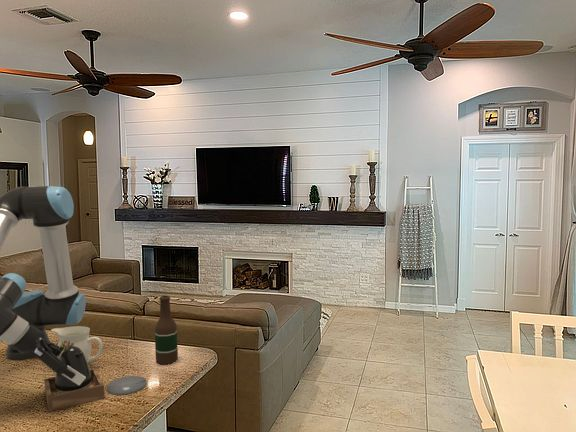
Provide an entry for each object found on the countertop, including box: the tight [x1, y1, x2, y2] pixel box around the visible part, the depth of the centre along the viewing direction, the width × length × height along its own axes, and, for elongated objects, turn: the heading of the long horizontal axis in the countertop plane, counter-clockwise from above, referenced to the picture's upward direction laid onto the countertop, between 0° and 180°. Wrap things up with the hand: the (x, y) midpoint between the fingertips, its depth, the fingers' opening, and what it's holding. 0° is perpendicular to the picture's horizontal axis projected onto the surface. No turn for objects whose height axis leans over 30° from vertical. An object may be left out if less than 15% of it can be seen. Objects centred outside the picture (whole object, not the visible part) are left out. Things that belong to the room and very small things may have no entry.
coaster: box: [106, 375, 147, 396], centre depth 146 cm, size 12×12×1 cm
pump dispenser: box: [54, 346, 92, 395], centre depth 140 cm, size 10×10×15 cm
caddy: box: [43, 367, 105, 412], centre depth 140 cm, size 15×15×4 cm
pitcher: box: [50, 325, 104, 363], centre depth 161 cm, size 11×18×14 cm, turn 88°
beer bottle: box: [154, 295, 179, 366], centre depth 165 cm, size 8×8×24 cm
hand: (79, 373), depth 141 cm, fingers open, 13 cm apart
